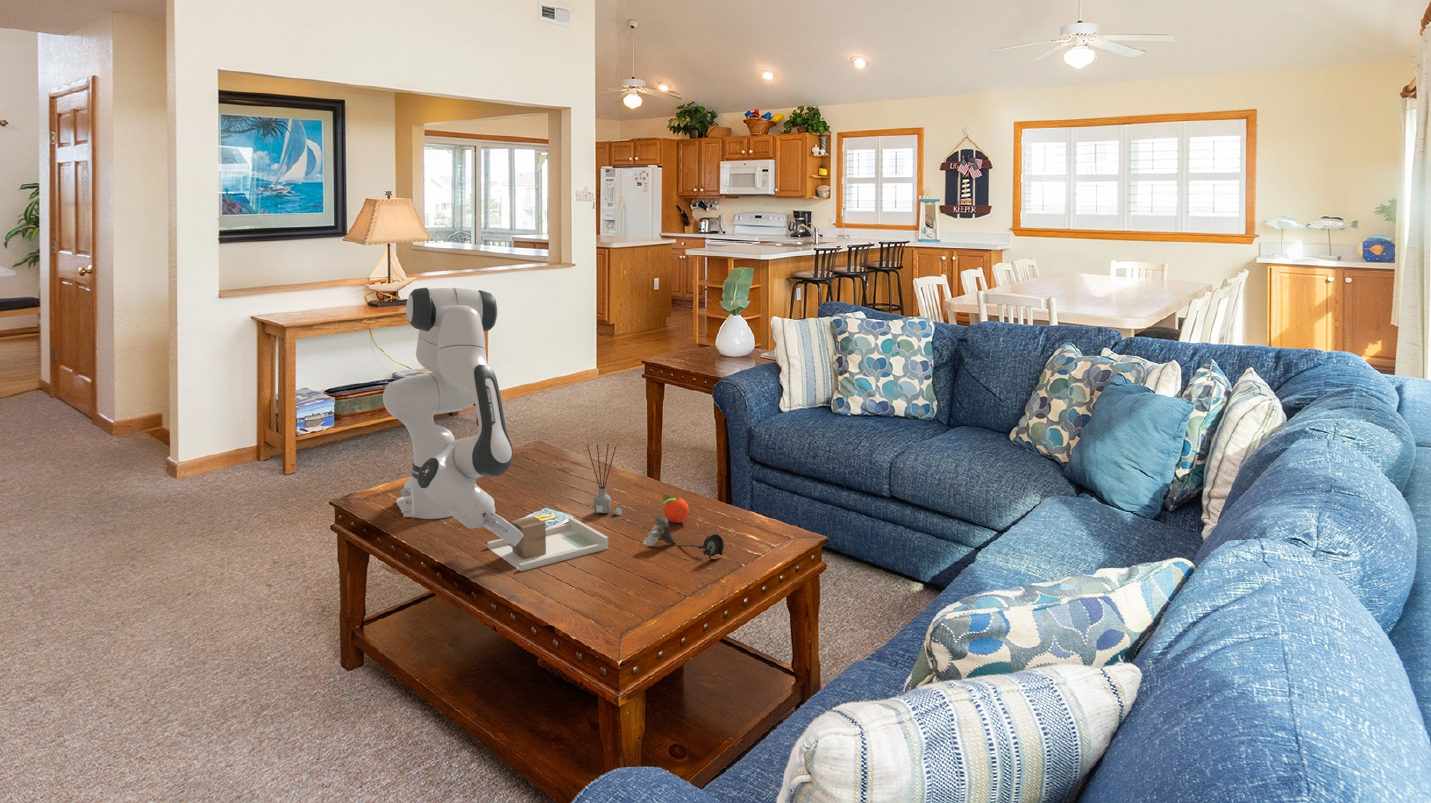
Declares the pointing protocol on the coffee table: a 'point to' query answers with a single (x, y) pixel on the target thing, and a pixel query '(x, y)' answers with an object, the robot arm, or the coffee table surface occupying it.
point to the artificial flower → (661, 532)
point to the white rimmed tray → (556, 545)
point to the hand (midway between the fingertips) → (514, 539)
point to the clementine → (676, 510)
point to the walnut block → (530, 537)
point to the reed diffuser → (603, 492)
